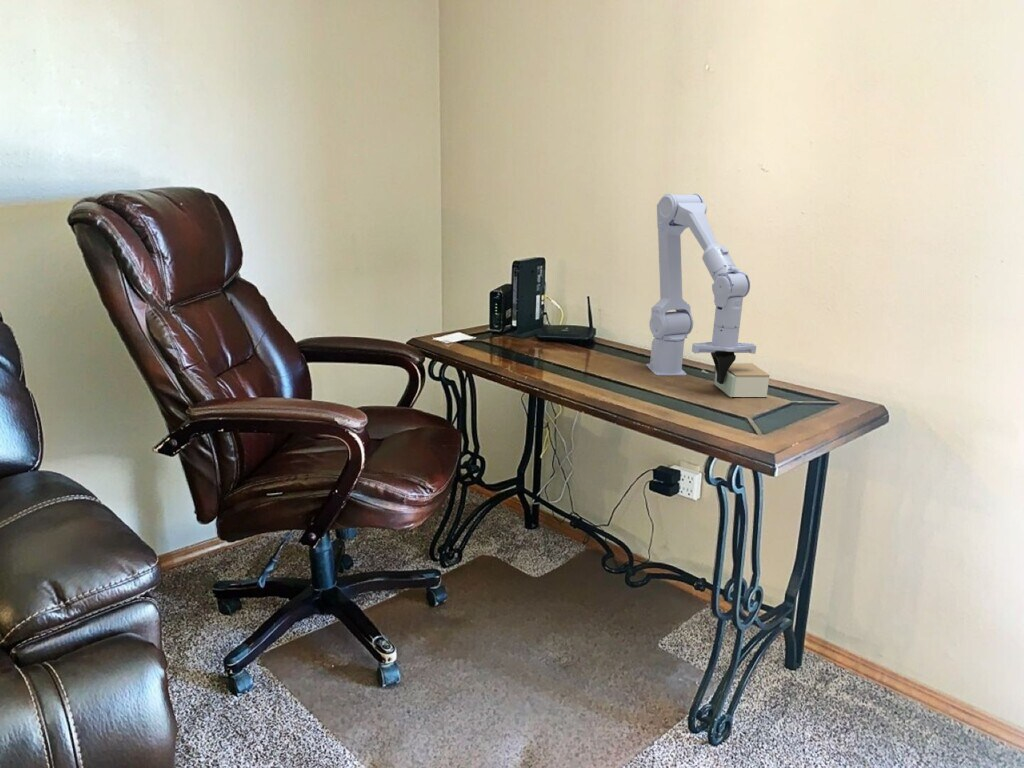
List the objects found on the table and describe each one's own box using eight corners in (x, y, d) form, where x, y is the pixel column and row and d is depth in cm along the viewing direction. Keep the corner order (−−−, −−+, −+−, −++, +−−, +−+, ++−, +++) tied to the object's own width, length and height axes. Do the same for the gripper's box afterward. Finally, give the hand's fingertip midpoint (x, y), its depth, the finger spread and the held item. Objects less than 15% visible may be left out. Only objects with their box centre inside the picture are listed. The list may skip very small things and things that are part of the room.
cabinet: (717, 385, 190) (720, 363, 189) (749, 385, 191) (752, 363, 190) (733, 398, 181) (735, 375, 179) (766, 398, 182) (769, 375, 180)
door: (712, 382, 190) (714, 363, 189) (716, 382, 191) (718, 363, 189) (729, 397, 180) (732, 377, 179) (734, 397, 180) (736, 376, 179)
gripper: (701, 329, 175) (695, 387, 179) (764, 329, 176) (756, 387, 180) (691, 322, 182) (685, 379, 186) (751, 323, 183) (745, 379, 187)
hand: (720, 382), depth 183 cm, fingers closed
